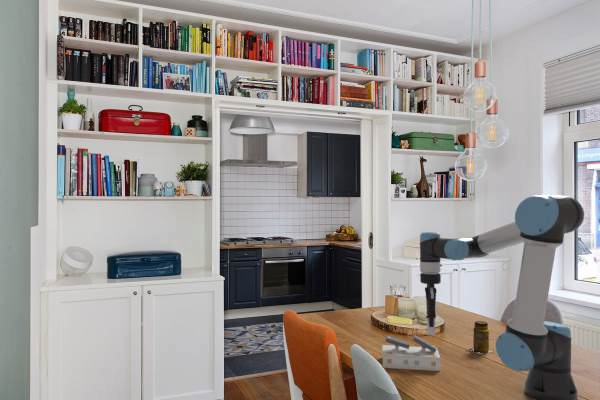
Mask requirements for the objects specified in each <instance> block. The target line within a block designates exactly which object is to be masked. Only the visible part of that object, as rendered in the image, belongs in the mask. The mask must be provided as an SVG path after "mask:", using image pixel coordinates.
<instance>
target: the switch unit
mask: <svg viewBox="0 0 600 400" xmlns="http://www.w3.org/2000/svg"><path fill="white" fill-rule="evenodd" d="M383 367H384V369H397V370H398V369H399V370H414V371H415V370H416V371H418V370H419V371H433V372H441V355H440V352H439V350H438V348H437V347H436V352H435V353H434V352H432V351H430V350H429V349H427V348H425V347H423V346H422V345H421V346H409V349H407V348H404V347H401V346H397V345H393V344H392V345H389V344H383V345H382V368H383Z"/></svg>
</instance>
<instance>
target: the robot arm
mask: <svg viewBox="0 0 600 400" xmlns="http://www.w3.org/2000/svg"><path fill="white" fill-rule="evenodd" d="M584 220H585V211H584V208H583V206H582V204H581V203H580V202H579V201H578V200H577V199H576V198H574V197H572V196H569V195H568V196H567V195H552V194H551V195H550V194H538V195H531V196H528V197H526V198H525V199H523V200H522V201H521V202H520V203H519V204H518V205H517V208H516V209H515V213H514V221H513V222H510V223H508V224H505V225H502V226H499V227H497V228H494V229H491V230H489V231H485V232H484V233H481V234H479V235H476V236H475V235H474V236H472V237H460V238H458V237H457V238H456V237H455V238H444V237H443V238H442V237H441V233H440V232H434V231H433V232H432V231H431V232H430V231H429V232H425V231H424V232H421V233H420V235H419V260H420V261H419V270H420V271H419V272H420V277H419V278H420V279H419V280H420V283H422V284H423V285H426V287H424V292H425V300H426V311H425V312H426V315H425V319H426V324H427V325H426V326H427V327H426V328H427V329H426V331H427V332H426V333H427V336H436V317H437V315H436V300H437V288H436V287H435V285H439V284H441V283H442V282H441V281H442V280H441V277H442V275H441V273H440V272H441V268H442V267H443V264H442V263H441V259H443V260H444V259H445V260H452V261H463V260H464V259H472V258H474V259H475V258H477V259H478V258H480V259H481V258H483V257H484V258H485V257H486V256H489V254H491V253H493V252H497V251H500V250H504V249H506V248H509V247H513V246H517V245H519V244H523V243H524V244H523V249H522V255H521V261H520V263H521V264H520V270H519V275H518V281H517V289H516V293H515V294H516V295H515V302H514V307H513V315H512V317H511V318H509V319H508V320H506V325H505V332H502V333H501V334H500V335H498V336H497V338H496V340H495V351H496V354H497V356H498V358H499V359H500V361H501V363H502V364H503V365H505V367H507V368H508V369H510V370H511V371H513V372H528V373H527V376H526V379H525V382H524V392H525V394H527V395H528V396H530V397H532V398H534V399H537V400H578V389H577V386H576V383H575V381H574V378H573V375H572V333H571V328H570V327H568V326H567V325H565V324H562V323H557V322H554V321H553V322H552V321H546V320H545V317H546V313H547V312H546V311H547V306H548V305H547V304H548V298H549V294H550V293H549V292H550V286H551V281H552V276H553V275H552V273H553V269H554V261H555V257H556V250H557V248H558V247H560V246H561V245H563V243H564V237H565V234H569V233H573V232H575V231H576V230H577V229H579V228H580V227H581V226H582V224H583V222H584Z"/></svg>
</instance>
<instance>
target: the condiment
mask: <svg viewBox="0 0 600 400" xmlns="http://www.w3.org/2000/svg"><path fill="white" fill-rule="evenodd" d="M489 332H490V330H489V323H488V322H487V321H482V320H477V321H474V328H473V341H472V342H473V346H472V347H471V348H467V349H466V351H468V352H470V353H474V354H477V355H481V356H482V355H485V354H489V353H492V352H493V353H494V351H493V350H490V347H489V346H490V345H489V344H490V337H489V335H490V333H489ZM472 349H474V351H473V350H472ZM471 350H472V351H471ZM478 352H480V353H478ZM487 352H488V353H487ZM484 353H485V354H484Z"/></svg>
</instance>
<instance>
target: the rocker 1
mask: <svg viewBox="0 0 600 400" xmlns="http://www.w3.org/2000/svg"><path fill="white" fill-rule="evenodd" d="M384 340H385V341H384V342H385V343H388V344H392V345H393V346H395V345H397V346H401V347H404V348H407V349H409V346H410V341H406V340H403V339H400V338H396V337H393V336H390V335H386V336H385V339H384Z"/></svg>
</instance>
